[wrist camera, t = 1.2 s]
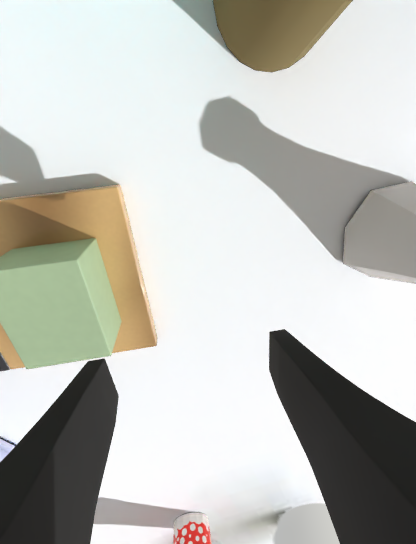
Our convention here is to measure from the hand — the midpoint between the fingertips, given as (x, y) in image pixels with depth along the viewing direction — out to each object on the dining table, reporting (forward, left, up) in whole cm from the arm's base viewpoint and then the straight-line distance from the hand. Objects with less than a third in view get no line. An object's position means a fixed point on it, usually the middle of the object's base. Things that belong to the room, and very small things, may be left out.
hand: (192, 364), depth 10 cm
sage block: (-7, +4, -8) cm, 11 cm away
